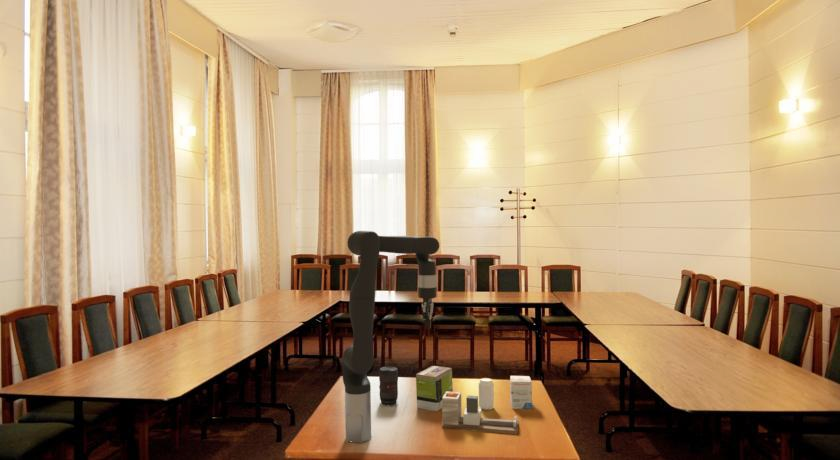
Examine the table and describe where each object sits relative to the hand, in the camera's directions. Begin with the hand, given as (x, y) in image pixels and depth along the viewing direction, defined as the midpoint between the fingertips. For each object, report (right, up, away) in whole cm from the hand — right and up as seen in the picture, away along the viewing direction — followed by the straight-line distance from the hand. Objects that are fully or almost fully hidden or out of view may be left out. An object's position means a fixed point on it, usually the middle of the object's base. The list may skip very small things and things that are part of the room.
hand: (427, 328), depth 211 cm
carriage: (+17, -33, -12) cm, 39 cm away
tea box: (+3, -35, +12) cm, 37 cm away
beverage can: (+25, -35, +7) cm, 43 cm away
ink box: (+40, -35, +9) cm, 54 cm away
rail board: (+20, -35, -13) cm, 42 cm away
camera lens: (-17, -35, +15) cm, 42 cm away
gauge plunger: (+9, -33, -10) cm, 36 cm away
